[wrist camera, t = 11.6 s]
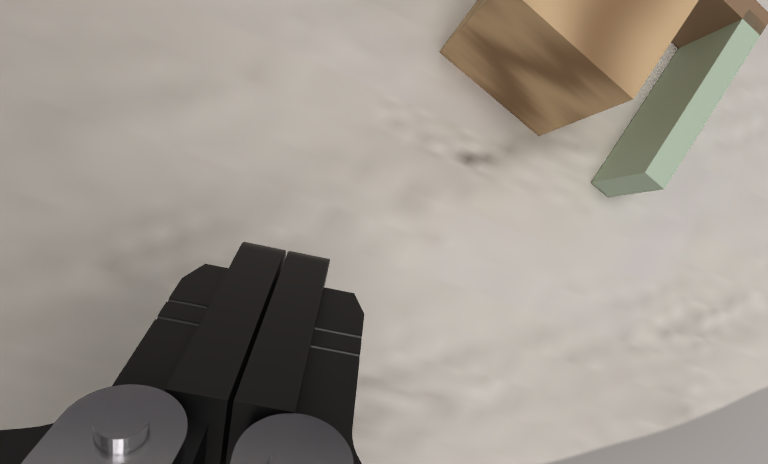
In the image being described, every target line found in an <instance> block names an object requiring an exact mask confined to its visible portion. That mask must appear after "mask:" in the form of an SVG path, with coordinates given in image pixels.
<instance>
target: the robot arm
mask: <svg viewBox="0 0 768 464" xmlns="http://www.w3.org/2000/svg"><path fill="white" fill-rule="evenodd" d="M285 258H286V259H285ZM329 262H330V259H326V258H321V257H316V256H311V255H306V254H302V253H297V252H292V251H289V252H288V254H287V256H286V251H285V250H281V249H276V248H271V247H266V246H262V245H257V244H252V243H247V242H243V243H242V244H241V246H240V248H239V250H238V252H237V254H236V255H235V257H234V259H233V261H232V263H231V265H230V267H229V269H228V268H223V267H218V266H213V265H208V264H204V265H203V266H201V267H199V268H198V269H196V270H195V271H193V272H191V273H190V274H188V275H186V276H185V277H183V278H182V279H181V280H180V282H179V283H178V285H177V287H176V288H175V290H174V291H173V293H172V294H171V296H170V297H169V301H168V302H166V304H165V305H164V307H163V308H162V310H161V311H160V313H159V314H158V318H157V320H156V319H155V321H154V322H153V324H152V325H151V327H150V328H149V330H148V331H147V333H146V334H145V336H144V337H143V339H142V341H141V342H140V344H139V345H138V347H137V348H136V350H135V351H134V353H133V354H132V356H131V358H130V359H129V361H128V362H127V364H126V365H125V367H124V368H123V370H122V371H121V373H120V374H119V376H118V378H117V379H116V381H115V382H114V384H113V385H112V387H107V388H104V389H101V390H97V391H95V392H93V393H90V394H88V395H86V396H85V397H83V398H81V399H79V400H78V401H76V402H75V403H74V404H72V405H71V406H70V407H69V408H68V409H67V410H66V411H65V412H64V413H63V414H62V415H61V416H60V417H59V418H58V420H57V421H56V422H55V423H53V424H49V425H44V426H39V427H32V428H23V429H11V430H0V464H362V463H361V462H360V460H359V458H358V456H357V454H356V451H355V449H354V445H353V440H352V426H353V417H354V407H355V397H356V388H357V378H358V369H359V359H360V358H359V356H360V349H361V337H362V330H363V320H364V313H363V311H362V309H361V307H360V305H359V303H358V300H357V298H356V296H355V294H354V293H349V292H344V291H339V290H334V289H329V288H324V286H325V282H326V277H327V272H328V267H329Z"/></svg>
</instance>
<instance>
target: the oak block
mask: <svg viewBox="0 0 768 464" xmlns="http://www.w3.org/2000/svg"><path fill="white" fill-rule="evenodd" d="M698 1H699V0H478V1H477V2H476V3H475V5H474V6H473V7H472V9H471V10H470V11H469V13H468V14H467V15H466V17H465V18H464V19H463V21H462V22H461V24H460V25H459V26H458V28H457V29H456V30H455V32H454V33H453V34H452V36H451V37H450V38H449V40H448V41H447V42H446V44H445V45H444V46H443V48H442V49H441V50H440V53H441V54H442V55H443V56H445V57H446V58H447V59H448V60H449V61H451V62H452V63H453V64H454V65H455V66H457V67H458V68H459V69H460V70H461V71H462V72H464V73H465V74H466V75H467V76H468V77H470V78H471V79H472V80H473V81H474V82H475V83H477V84H478V85H479V86H480V87H481V88H483V89H484V90H485V91H486V92H487V93H488V94H490V95H491V96H492V97H493V98H494V99H496V100H497V101H498V102H499V103H500V104H502V105H503V106H504V107H505V108H506V109H507V110H509V111H510V112H511V113H512V114H513V115H515V116H516V117H517V118H518V119H519V120H520V121H522V122H523V123H524V124H525V125H526V126H528V127H529V128H530V129H531V130H532V131H533V132H535V133H536V134H537V135H538V136H540V135H542V134H545V133H547V132H550V131H553V130H555V129H558V128H560V127H563V126H565V125H568V124H571V123H573V122H576V121H578V120H581V119H583V118H586V117H589V116H591V115H594V114H596V113H599V112H601V111H604V110H607V109H609V108H612V107H614V106H617V105H619V104H622V103H625V102H627V101H630V100H632V99H634V97H635V96H636V94H637V93H638V91H639V90H640V88H641V87H642V85H643V84H644V82H645V81H646V79H647V78H648V76H649V75H650V73H651V72H652V70H653V69H654V67H655V66H656V64H657V63H658V61H659V60H660V58H661V57H662V55H663V54H664V52H665V51H666V49H667V47H668V46H669V44H670V43H671V41H672V40H673V38H674V37H675V35H676V34H677V32H678V31H679V29H680V28H681V26H682V25H683V23H684V22H685V20H686V19H687V17H688V16H689V14H690V13H691V11H692V10H693V8H694V7H695V5H696V4H697V2H698Z"/></svg>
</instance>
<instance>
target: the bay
mask: <svg viewBox="0 0 768 464" xmlns="http://www.w3.org/2000/svg"><path fill="white" fill-rule="evenodd" d="M767 24H768V12H767V11H766V10H765V9H764V8H763V7H762V6H761V5H760V4H759V3H758V2H757V1H756V0H699V1H698V2H697V4H696V5H695V7H694V8H693V10H692V11H691V13H690V14H689V16H688V17H687V19H686V20H685V22H684V23H683V25H682V26H681V28H680V29H679V31H678V32H677V34H676V35H675V37H674V38H673V40H672V41H671V42H672V43H673V44H675V45H676V46H677V47H678V48H679V49H678V50H677V52H676V53H675V55H674V56H673V58H672V59H671V61H670V63H669V64H668V66H667V67H666V69H665V70H664V72H663V73H662V75H661V76H660V78H659V79H658V81H657V83H656V84H655V86H654V87H653V89H652V90H651V92H650V93H649V95H648V96H647V98H646V99H645V101H644V102H643V104H642V106H641V107H640V109H639V110H638V112H637V113H636V115H635V116H634V118H633V119H632V121H631V122H630V124H629V125H628V127H627V129H626V130H625V132H624V133H623V135H622V136H621V138H620V139H619V141H618V142H617V144H616V145H615V147H614V149H613V150H612V152H611V153H610V155H609V156H608V158H607V159H606V161H605V162H604V164H603V165H602V167H601V168H600V170H599V172H598V173H597V175H596V176H595V178H594V179H593V181H592V182H591V183H592V184H593V185H595V186H596V187H597V188H598V189H599V190H601V191H602V192H603V193H604V194H605V195H606V196H608V197H612V196H619V195H626V194H633V193H641V192H648V191H655V190H662V189H665V187H666V186H667V184H668V182H669V181H670V179H671V178H672V176H673V174H674V173H675V171H676V170H677V168H678V166H679V165H680V163H681V162H682V160H683V158H684V157H685V155H686V154H687V152H688V150H689V149H690V147H691V146H692V144H693V142H694V141H695V139H696V138H697V136H698V134H699V133H700V131H701V130H702V128H703V126H704V125H705V123H706V122H707V120H708V118H709V117H710V115H711V114H712V112H713V110H714V109H715V107H716V106H717V104H718V102H719V101H720V99H721V98H722V96H723V94H724V93H725V91H726V90H727V88H728V86H729V85H730V83H731V82H732V80H733V78H734V77H735V75H736V74H737V72H738V70H739V69H740V67H741V66H742V64H743V62H744V61H745V59H746V58H747V56H748V54H749V53H750V51H751V49H752V48H753V46H754V45H755V43H756V41H757V40H758V38H759V37H760V35H761V33H762V32H763V30H764V29H765V27H766V25H767Z"/></svg>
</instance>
